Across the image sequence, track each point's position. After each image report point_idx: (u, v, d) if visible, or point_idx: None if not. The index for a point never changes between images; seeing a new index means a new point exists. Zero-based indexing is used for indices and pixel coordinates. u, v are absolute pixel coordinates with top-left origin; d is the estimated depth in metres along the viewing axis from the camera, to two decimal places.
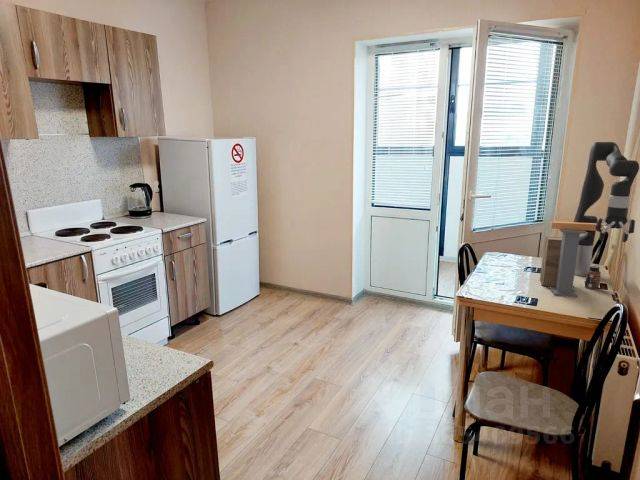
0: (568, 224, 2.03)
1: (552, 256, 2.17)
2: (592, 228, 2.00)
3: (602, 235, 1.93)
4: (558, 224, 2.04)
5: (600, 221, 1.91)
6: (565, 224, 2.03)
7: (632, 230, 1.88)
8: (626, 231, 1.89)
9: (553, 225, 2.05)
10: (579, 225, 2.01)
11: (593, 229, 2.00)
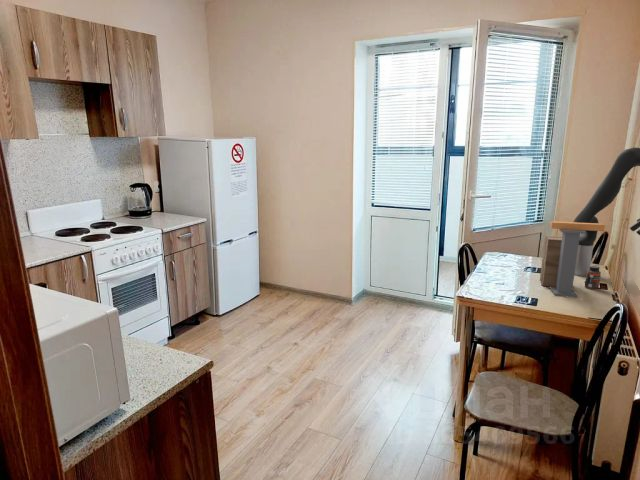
0: (568, 224, 2.03)
1: (552, 256, 2.17)
2: (592, 228, 2.00)
3: None
4: (558, 224, 2.04)
5: None
6: (565, 224, 2.03)
7: None
8: None
9: (553, 225, 2.05)
10: (579, 225, 2.01)
11: (593, 229, 2.00)
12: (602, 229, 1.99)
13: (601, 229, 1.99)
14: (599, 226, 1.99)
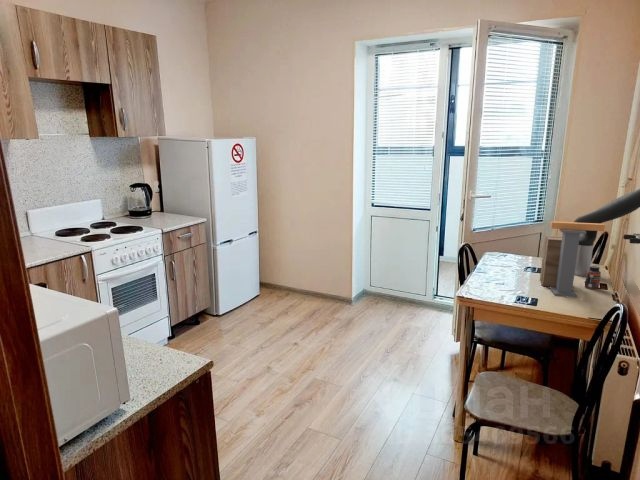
0: (568, 224, 2.03)
1: (552, 256, 2.17)
2: (592, 228, 2.00)
3: (636, 243, 1.93)
4: (558, 224, 2.04)
5: None
6: (565, 224, 2.03)
7: None
8: None
9: (553, 225, 2.05)
10: (579, 225, 2.01)
11: (593, 229, 2.00)
12: (602, 229, 1.99)
13: (601, 229, 1.99)
14: (599, 226, 1.99)
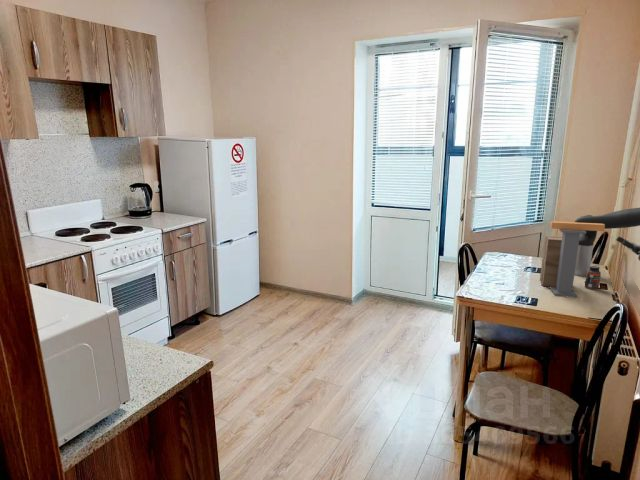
0: (568, 224, 2.03)
1: (552, 256, 2.17)
2: (592, 228, 2.00)
3: (627, 246, 1.94)
4: (558, 224, 2.04)
5: None
6: (565, 224, 2.03)
7: None
8: None
9: (553, 225, 2.05)
10: (579, 225, 2.01)
11: (593, 229, 2.00)
12: (602, 229, 1.99)
13: (601, 229, 1.99)
14: (599, 226, 1.99)
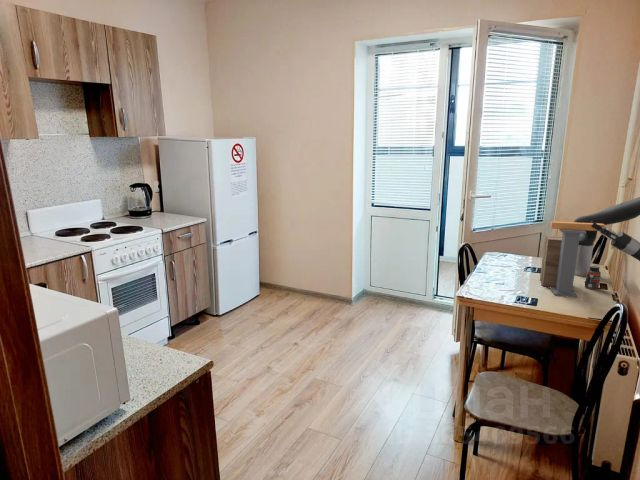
0: (568, 224, 2.03)
1: (552, 256, 2.17)
2: (592, 228, 2.00)
3: (596, 229, 1.99)
4: (558, 224, 2.04)
5: (610, 238, 1.95)
6: (565, 224, 2.03)
7: None
8: None
9: (553, 225, 2.05)
10: (579, 225, 2.01)
11: (593, 229, 2.00)
12: None
13: None
14: None
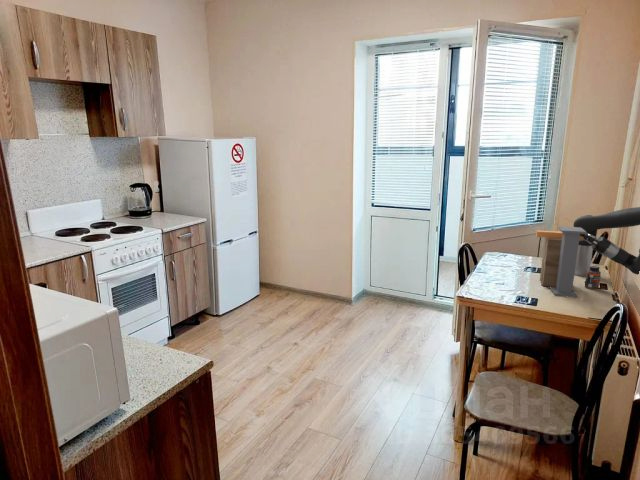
0: (552, 233, 2.18)
1: (552, 256, 2.17)
2: None
3: None
4: (543, 233, 2.19)
5: (592, 243, 2.09)
6: (549, 233, 2.18)
7: None
8: None
9: (538, 234, 2.20)
10: None
11: None
12: (583, 238, 2.14)
13: (582, 238, 2.14)
14: None
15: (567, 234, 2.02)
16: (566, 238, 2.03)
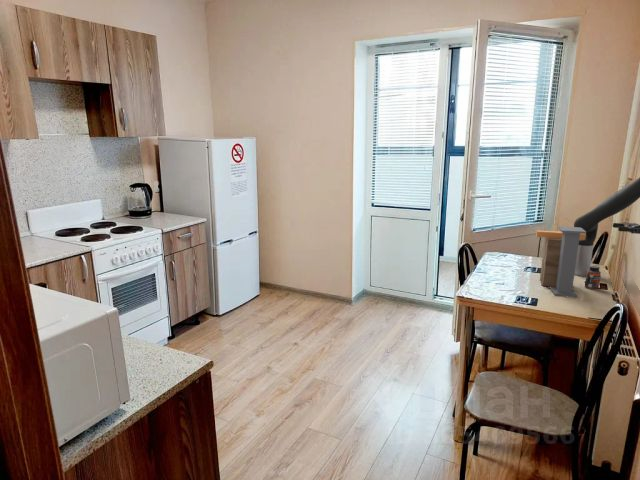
0: (552, 233, 2.18)
1: (552, 256, 2.17)
2: None
3: (624, 231, 2.03)
4: (543, 233, 2.19)
5: None
6: (549, 233, 2.18)
7: None
8: None
9: (538, 234, 2.20)
10: None
11: None
12: (583, 238, 2.14)
13: (582, 238, 2.14)
14: (580, 235, 2.14)
15: (567, 234, 2.02)
16: (566, 238, 2.03)
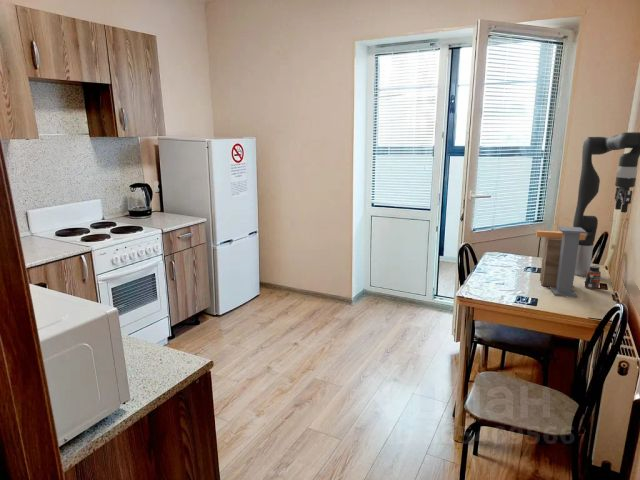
0: (552, 233, 2.18)
1: (552, 256, 2.17)
2: None
3: (627, 206, 1.97)
4: (543, 233, 2.19)
5: None
6: (549, 233, 2.18)
7: None
8: None
9: (538, 234, 2.20)
10: None
11: None
12: (583, 238, 2.14)
13: (582, 238, 2.14)
14: (580, 235, 2.14)
15: (567, 234, 2.02)
16: (566, 238, 2.03)
